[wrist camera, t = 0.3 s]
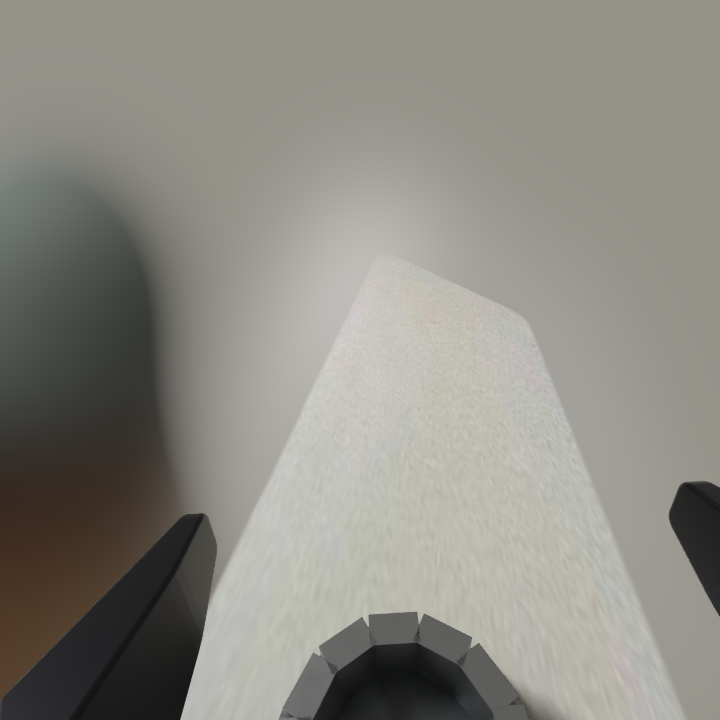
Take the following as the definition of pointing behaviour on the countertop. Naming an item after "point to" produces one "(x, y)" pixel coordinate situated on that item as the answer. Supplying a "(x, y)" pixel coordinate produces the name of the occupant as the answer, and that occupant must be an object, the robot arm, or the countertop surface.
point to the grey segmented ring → (402, 675)
